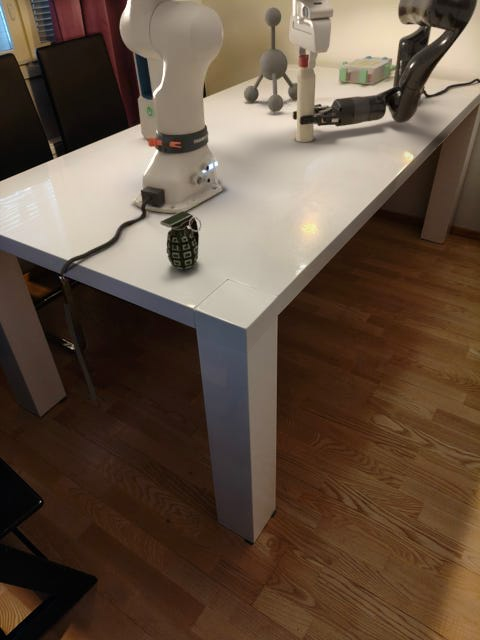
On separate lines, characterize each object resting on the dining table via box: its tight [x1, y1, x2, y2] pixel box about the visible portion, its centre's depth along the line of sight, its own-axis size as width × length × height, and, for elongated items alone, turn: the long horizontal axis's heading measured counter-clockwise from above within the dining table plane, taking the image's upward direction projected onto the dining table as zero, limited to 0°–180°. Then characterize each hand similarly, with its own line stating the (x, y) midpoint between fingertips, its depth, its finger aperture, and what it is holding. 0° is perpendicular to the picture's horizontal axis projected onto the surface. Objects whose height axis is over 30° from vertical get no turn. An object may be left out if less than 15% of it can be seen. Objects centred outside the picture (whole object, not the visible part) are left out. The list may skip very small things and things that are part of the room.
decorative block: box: [338, 55, 396, 85], centre depth 201 cm, size 26×6×20 cm
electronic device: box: [132, 52, 164, 140], centre depth 143 cm, size 12×8×30 cm, turn 47°
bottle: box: [295, 67, 317, 143], centre depth 139 cm, size 5×5×22 cm
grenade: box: [159, 211, 202, 271], centre depth 88 cm, size 7×6×10 cm
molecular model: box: [243, 6, 298, 113], centre depth 169 cm, size 24×22×30 cm
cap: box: [298, 54, 317, 68], centre depth 133 cm, size 5×5×2 cm
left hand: (306, 66), depth 134 cm, fingers closed on cap, 4 cm apart
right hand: (296, 118), depth 141 cm, fingers closed on bottle, 5 cm apart
